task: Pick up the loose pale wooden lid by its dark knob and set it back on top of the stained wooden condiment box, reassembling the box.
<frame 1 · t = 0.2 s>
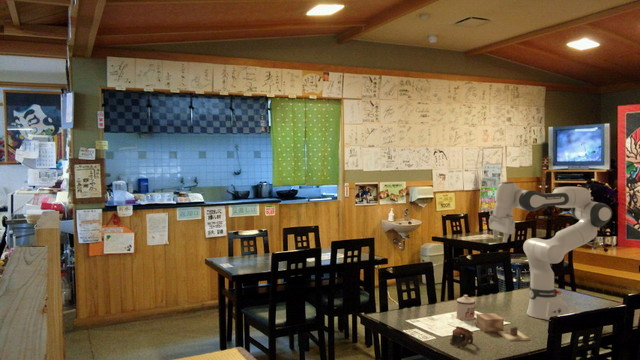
hand: (499, 240, 253), 39 cm above the table, tool pointing down, fingers open, 8 cm apart
teacup with lid: (467, 318, 252), on the table
lid: (513, 337, 224), on the table
box body: (489, 329, 234), on the table
brown lumpy figurine: (462, 345, 214), on the table
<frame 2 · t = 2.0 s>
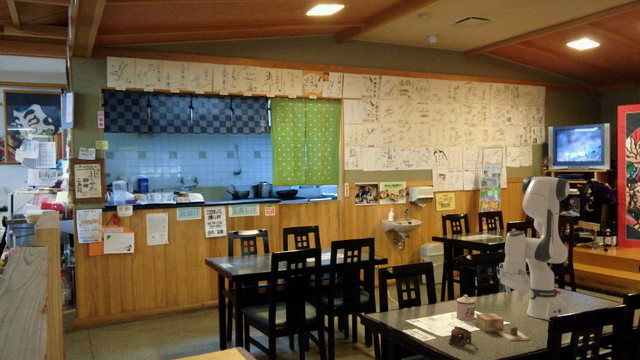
hand: (514, 298, 224), 17 cm above the table, tool pointing down, fingers open, 8 cm apart
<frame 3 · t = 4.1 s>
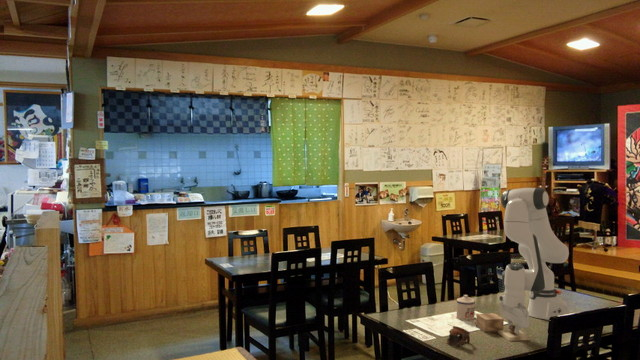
hand: (513, 331, 224), 2 cm above the table, tool pointing down, fingers closed on lid, 3 cm apart
lid: (513, 336, 224), on the table, touching gripper
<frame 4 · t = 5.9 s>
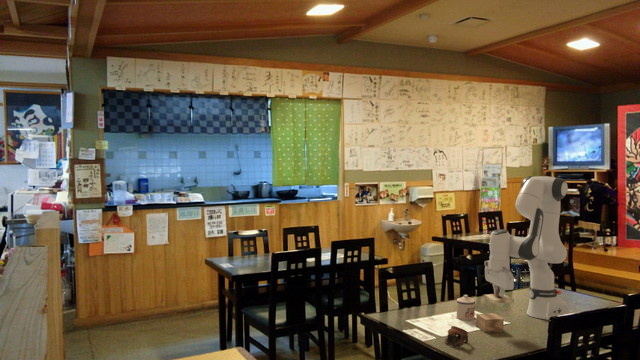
hand: (498, 295, 230), 17 cm above the table, tool pointing down, fingers closed on lid, 3 cm apart
lid: (498, 300, 230), point 15 cm above the table, touching gripper
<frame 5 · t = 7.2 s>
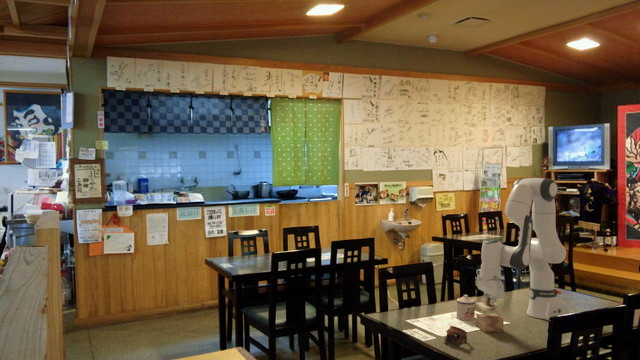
hand: (489, 303, 234), 12 cm above the table, tool pointing down, fingers closed on lid, 3 cm apart
lid: (489, 308, 234), point 10 cm above the table, touching gripper
when the fingers open (9 cm above the table, at t = 8.0 s): lid stays where it is, resting on box body.
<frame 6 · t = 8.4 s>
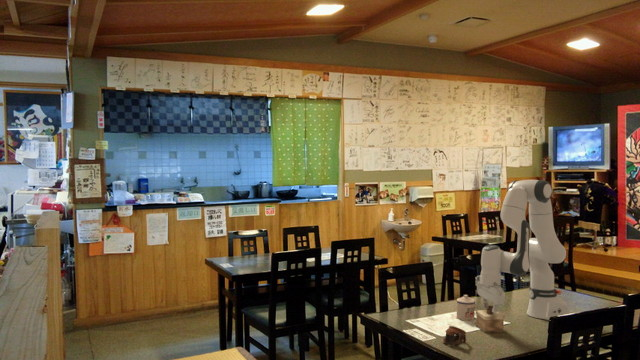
hand: (490, 309, 234), 9 cm above the table, tool pointing down, fingers open, 7 cm apart
lid: (489, 316, 234), point 6 cm above the table, touching box body
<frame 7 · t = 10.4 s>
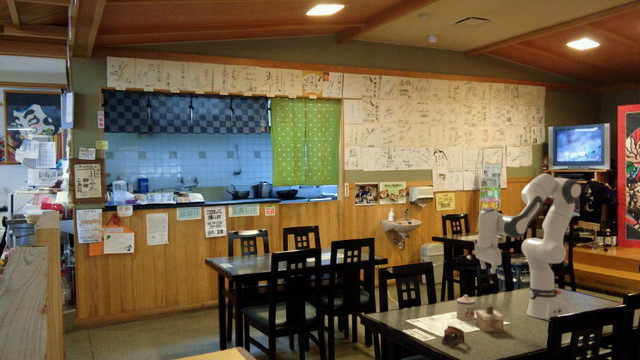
hand: (488, 271, 242), 26 cm above the table, tool pointing down, fingers open, 8 cm apart
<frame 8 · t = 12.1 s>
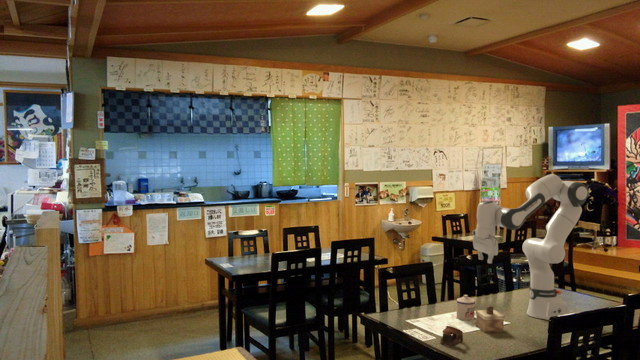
hand: (485, 261, 248), 29 cm above the table, tool pointing down, fingers open, 8 cm apart
at the end: lid 0.0 cm off-centre on the box body, point 6.0 cm above the box body's base; lid tilted 0°; the gripper is holding nothing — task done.
